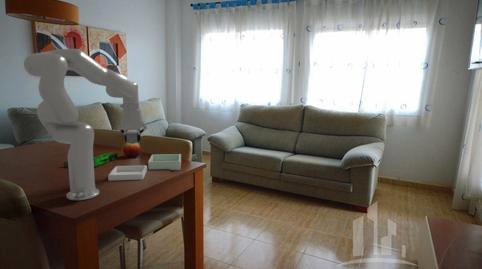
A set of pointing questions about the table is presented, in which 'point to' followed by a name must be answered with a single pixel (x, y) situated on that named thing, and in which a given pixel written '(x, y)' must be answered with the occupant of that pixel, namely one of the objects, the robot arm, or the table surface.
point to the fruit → (131, 150)
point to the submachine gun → (100, 159)
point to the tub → (128, 173)
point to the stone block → (132, 137)
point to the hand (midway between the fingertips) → (133, 141)
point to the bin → (165, 161)
